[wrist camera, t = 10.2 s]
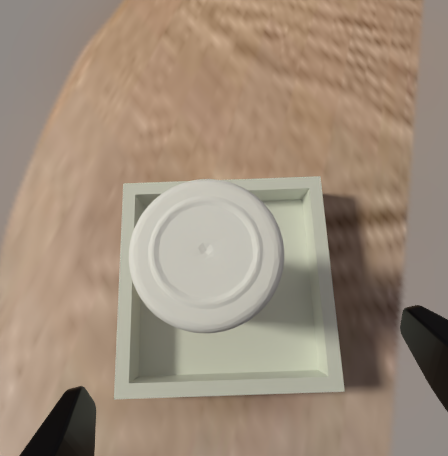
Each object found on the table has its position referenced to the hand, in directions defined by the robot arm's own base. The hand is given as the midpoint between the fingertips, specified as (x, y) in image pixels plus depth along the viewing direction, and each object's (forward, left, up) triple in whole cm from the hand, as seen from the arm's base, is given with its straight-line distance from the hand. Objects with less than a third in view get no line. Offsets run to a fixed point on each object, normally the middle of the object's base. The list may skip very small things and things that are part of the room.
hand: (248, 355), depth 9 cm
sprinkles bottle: (+3, +1, -13) cm, 13 cm away
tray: (+3, +1, -14) cm, 14 cm away
